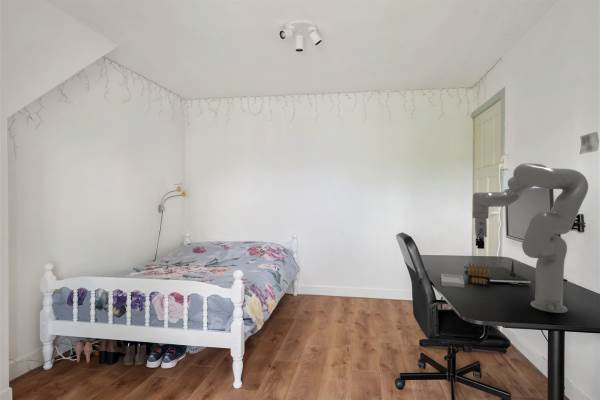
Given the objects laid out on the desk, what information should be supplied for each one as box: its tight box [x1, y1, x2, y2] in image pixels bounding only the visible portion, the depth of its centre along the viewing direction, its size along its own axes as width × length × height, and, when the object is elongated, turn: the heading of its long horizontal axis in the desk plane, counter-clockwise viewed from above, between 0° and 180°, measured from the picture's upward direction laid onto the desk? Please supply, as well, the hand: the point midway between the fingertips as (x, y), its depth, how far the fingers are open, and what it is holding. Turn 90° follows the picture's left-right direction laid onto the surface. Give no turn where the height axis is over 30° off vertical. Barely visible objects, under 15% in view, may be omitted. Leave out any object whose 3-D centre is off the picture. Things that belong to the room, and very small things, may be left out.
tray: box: [440, 273, 465, 289], centre depth 181 cm, size 18×11×2 cm, turn 157°
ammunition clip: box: [467, 262, 491, 288], centre depth 176 cm, size 11×2×12 cm, turn 61°
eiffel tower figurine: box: [507, 260, 525, 286], centre depth 183 cm, size 15×10×13 cm
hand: (479, 247), depth 176 cm, fingers open, 9 cm apart
